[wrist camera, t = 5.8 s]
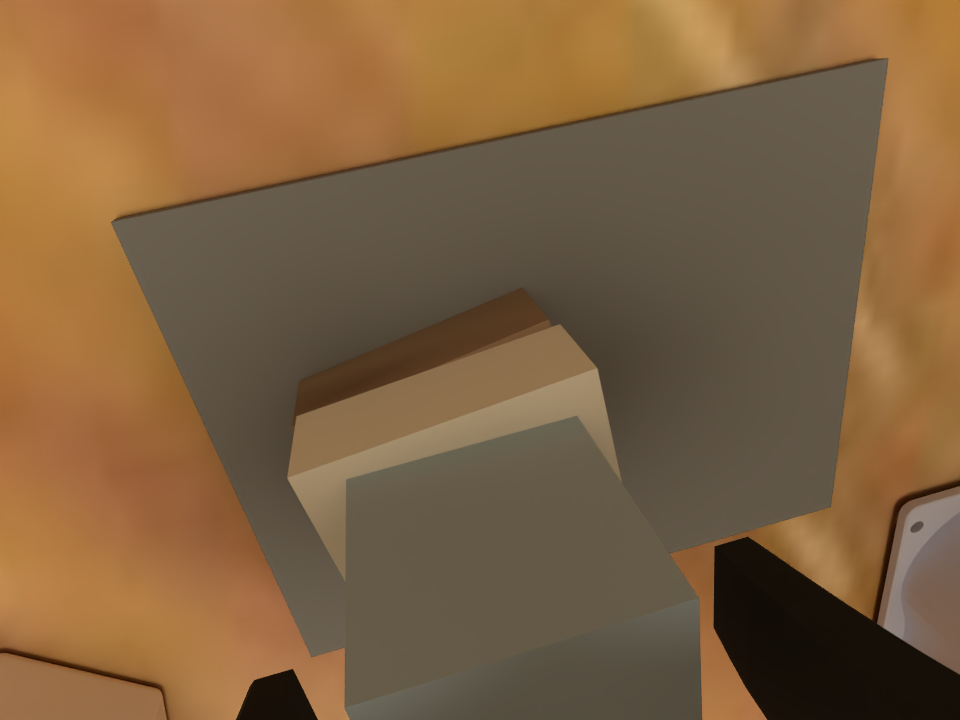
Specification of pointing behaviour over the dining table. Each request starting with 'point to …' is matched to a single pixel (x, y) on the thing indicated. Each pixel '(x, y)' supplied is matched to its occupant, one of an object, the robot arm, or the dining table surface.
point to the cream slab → (442, 419)
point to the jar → (71, 694)
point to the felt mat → (552, 297)
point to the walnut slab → (424, 350)
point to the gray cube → (513, 590)
